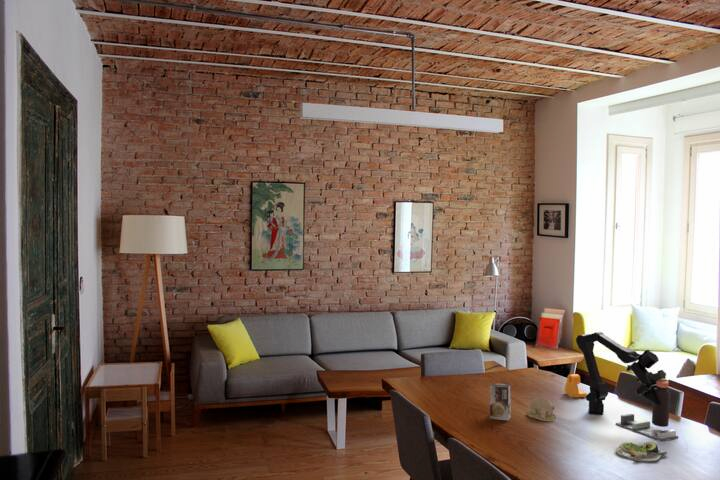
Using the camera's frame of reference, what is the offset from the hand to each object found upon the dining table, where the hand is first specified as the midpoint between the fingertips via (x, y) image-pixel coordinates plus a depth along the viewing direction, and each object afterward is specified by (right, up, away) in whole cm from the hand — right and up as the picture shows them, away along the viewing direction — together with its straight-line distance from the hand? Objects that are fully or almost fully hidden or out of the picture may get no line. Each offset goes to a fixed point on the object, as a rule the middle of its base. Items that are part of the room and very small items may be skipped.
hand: (664, 403), depth 274 cm
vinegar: (-1, -10, +2) cm, 10 cm away
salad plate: (-23, -14, -26) cm, 38 cm away
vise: (-7, -13, +3) cm, 15 cm away
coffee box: (-69, -13, +20) cm, 73 cm away
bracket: (-18, -13, +61) cm, 65 cm away
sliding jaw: (-10, -12, +9) cm, 18 cm away
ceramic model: (-49, -13, +22) cm, 55 cm away
